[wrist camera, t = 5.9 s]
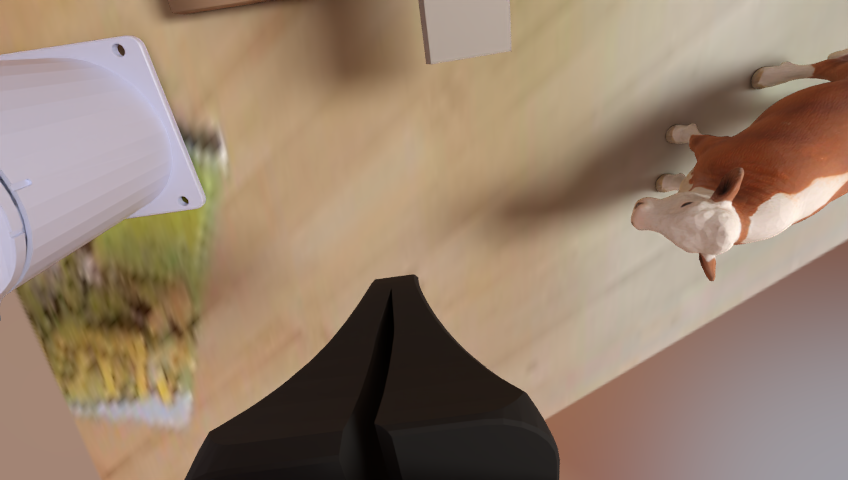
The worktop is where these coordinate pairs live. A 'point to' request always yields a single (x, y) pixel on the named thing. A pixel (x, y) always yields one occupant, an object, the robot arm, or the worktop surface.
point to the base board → (206, 5)
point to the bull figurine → (758, 168)
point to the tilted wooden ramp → (464, 28)
